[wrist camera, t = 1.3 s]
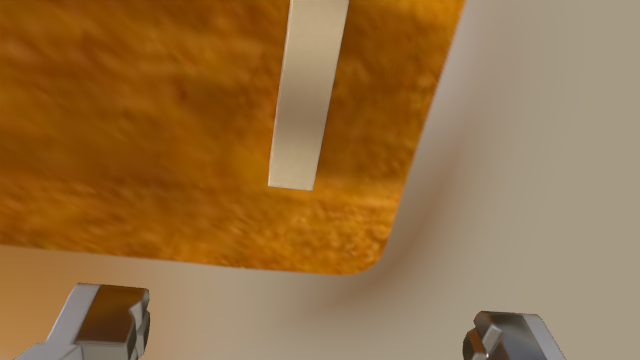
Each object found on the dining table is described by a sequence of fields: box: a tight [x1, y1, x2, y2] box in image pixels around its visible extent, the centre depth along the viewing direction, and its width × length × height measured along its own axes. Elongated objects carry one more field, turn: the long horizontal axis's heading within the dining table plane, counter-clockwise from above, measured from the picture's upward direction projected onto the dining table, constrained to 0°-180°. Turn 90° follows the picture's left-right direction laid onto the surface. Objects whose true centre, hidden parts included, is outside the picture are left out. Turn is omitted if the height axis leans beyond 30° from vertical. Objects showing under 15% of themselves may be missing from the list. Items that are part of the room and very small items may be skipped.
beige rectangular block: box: [268, 0, 349, 191], centre depth 23 cm, size 10×2×2 cm, turn 170°
